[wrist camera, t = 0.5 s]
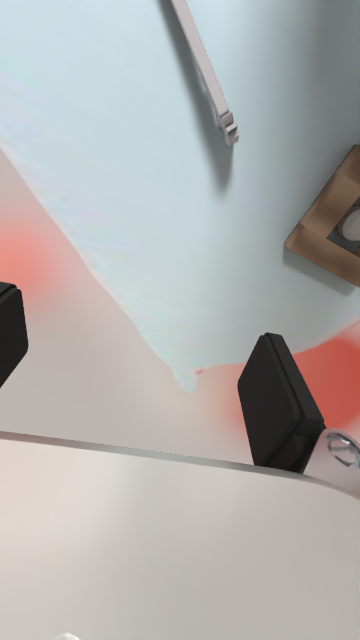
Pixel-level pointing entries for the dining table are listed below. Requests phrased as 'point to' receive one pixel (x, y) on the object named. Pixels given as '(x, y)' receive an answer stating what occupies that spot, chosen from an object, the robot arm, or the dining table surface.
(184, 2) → the caliper
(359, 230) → the rook chess piece
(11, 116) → the dining table surface
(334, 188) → the socket block
